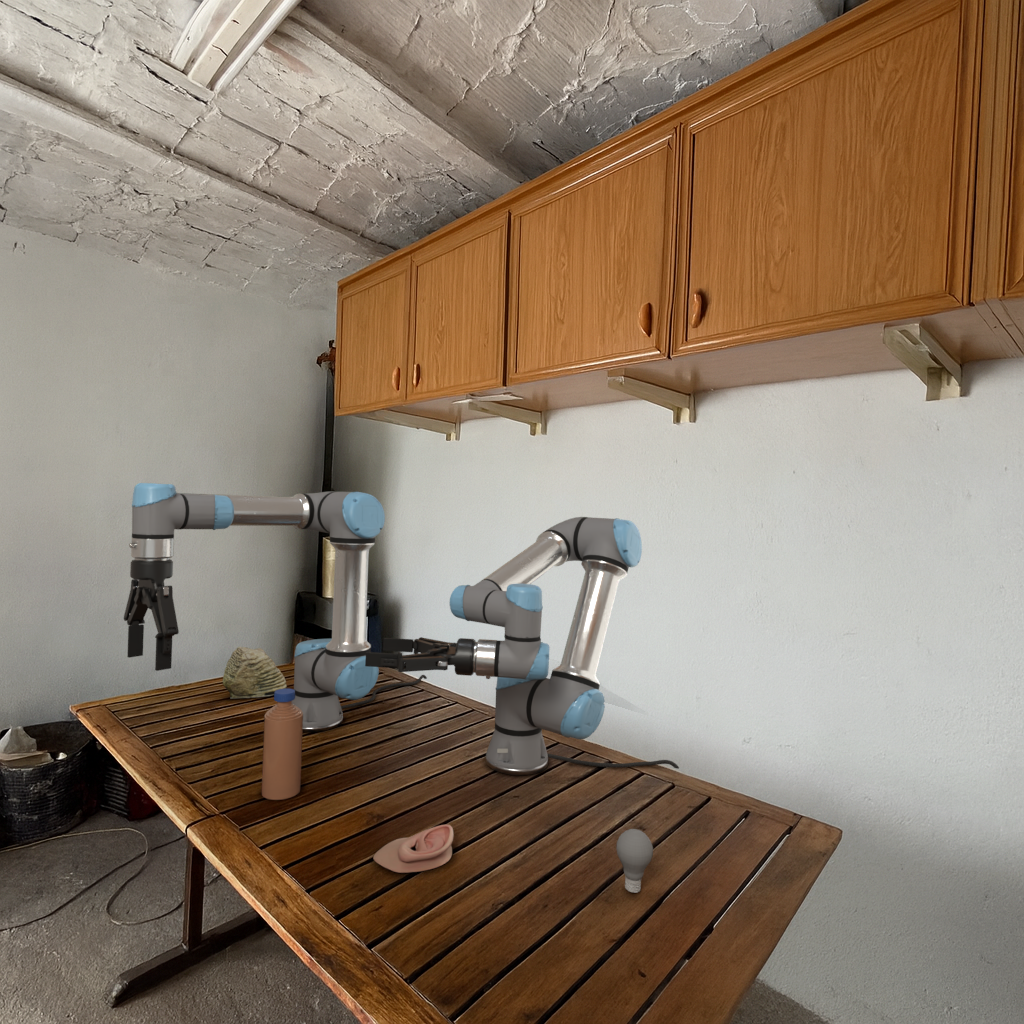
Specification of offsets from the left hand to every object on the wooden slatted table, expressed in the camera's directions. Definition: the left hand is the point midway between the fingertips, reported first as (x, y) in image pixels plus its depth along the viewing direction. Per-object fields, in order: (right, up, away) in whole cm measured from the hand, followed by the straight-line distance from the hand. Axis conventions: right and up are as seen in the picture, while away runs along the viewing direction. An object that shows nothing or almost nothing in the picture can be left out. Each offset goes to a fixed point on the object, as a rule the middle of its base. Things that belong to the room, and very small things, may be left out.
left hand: (148, 662), depth 129 cm
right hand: (+45, +1, +4) cm, 46 cm away
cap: (+26, -8, +6) cm, 27 cm away
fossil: (-6, -27, +69) cm, 74 cm away
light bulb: (+94, -33, -24) cm, 103 cm away
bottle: (+25, -29, +6) cm, 39 cm away
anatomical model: (+57, -31, -16) cm, 67 cm away
